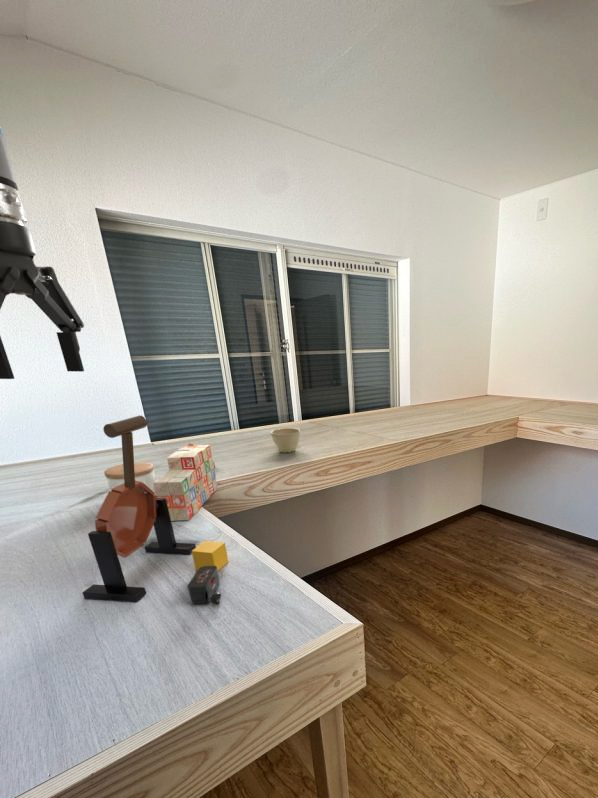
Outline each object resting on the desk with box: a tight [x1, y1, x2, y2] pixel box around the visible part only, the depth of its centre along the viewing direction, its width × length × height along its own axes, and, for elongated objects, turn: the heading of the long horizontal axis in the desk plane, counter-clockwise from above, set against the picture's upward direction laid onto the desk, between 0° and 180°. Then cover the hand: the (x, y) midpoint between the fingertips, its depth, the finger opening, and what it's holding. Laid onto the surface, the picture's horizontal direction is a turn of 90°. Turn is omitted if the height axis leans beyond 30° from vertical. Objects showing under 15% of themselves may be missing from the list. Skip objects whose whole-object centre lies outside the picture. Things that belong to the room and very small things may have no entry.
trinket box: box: [103, 461, 156, 492], centre depth 105 cm, size 11×11×9 cm
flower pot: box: [270, 427, 301, 453], centre depth 147 cm, size 10×10×7 cm
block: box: [191, 540, 229, 572], centre depth 74 cm, size 4×4×4 cm
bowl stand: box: [81, 498, 197, 603], centre depth 71 cm, size 9×18×11 cm, turn 173°
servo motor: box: [187, 566, 222, 606], centre depth 66 cm, size 5×7×3 cm, turn 3°
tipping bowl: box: [94, 414, 159, 559], centre depth 67 cm, size 23×13×2 cm
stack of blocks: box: [153, 444, 218, 522], centre depth 100 cm, size 21×6×12 cm, turn 4°
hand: (43, 375), depth 69 cm, fingers open, 13 cm apart
